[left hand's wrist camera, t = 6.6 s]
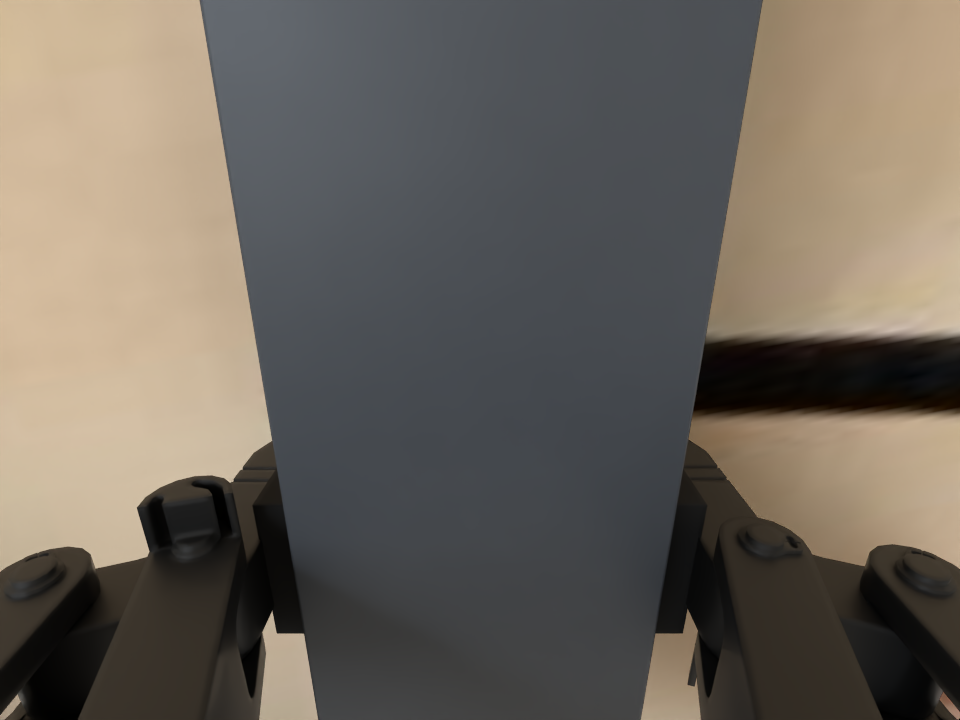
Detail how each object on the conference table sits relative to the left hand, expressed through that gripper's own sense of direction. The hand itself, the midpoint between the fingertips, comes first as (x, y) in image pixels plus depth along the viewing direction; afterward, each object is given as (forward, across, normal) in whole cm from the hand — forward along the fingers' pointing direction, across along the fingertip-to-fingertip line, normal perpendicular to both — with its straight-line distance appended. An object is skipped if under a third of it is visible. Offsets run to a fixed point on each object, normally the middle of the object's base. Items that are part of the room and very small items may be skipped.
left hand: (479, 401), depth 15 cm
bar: (+1, 0, -23) cm, 23 cm away
